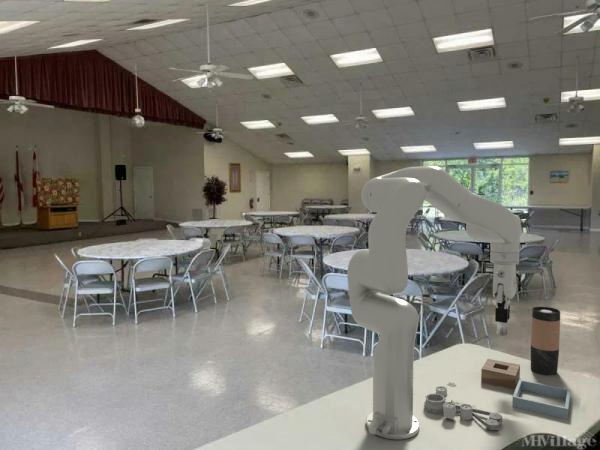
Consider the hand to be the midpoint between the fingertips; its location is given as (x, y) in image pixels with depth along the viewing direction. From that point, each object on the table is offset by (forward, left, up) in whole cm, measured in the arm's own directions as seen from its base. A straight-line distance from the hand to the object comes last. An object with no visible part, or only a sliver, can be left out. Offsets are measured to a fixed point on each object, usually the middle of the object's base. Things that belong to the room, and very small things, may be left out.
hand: (502, 319), depth 133 cm
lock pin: (0, 0, -4) cm, 4 cm away
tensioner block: (0, 0, -19) cm, 19 cm away
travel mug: (+14, -10, -19) cm, 26 cm away
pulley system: (-22, +8, -20) cm, 31 cm away
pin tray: (-9, -12, -19) cm, 24 cm away
